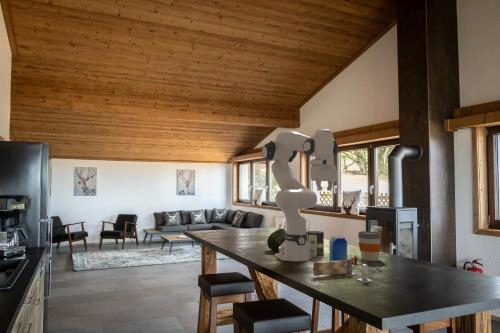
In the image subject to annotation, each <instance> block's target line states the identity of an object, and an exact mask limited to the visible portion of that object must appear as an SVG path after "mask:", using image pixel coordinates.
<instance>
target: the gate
mask: <svg viewBox="0 0 500 333" xmlns="http://www.w3.org/2000/svg"><path fill="white" fill-rule="evenodd" d="M312 263H313V264H312V267H313V268H312V269H313V270H312V271H313V272H312V275H313V276H315V277H318V276H327V275H328V276H329V275H337V274H341V273H348V274H351V273H352V272H353V265H352V258H347V259H346V260H340V261H330V260H329V261H328V260H327V261H313V262H312Z"/></svg>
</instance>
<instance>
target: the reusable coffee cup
mask: <svg viewBox="0 0 500 333" xmlns="http://www.w3.org/2000/svg"><path fill="white" fill-rule="evenodd" d="M357 237H358V248H359V251H360V257H361V258H360V259H361V260H368V261H367V262H370V261H376V262H379V256H380V251H381V246H382V243H381V239H382V233H381V232H379V231H373V230H372V231H371V230H369V231H368V230H367V231H365V230H362V231H358V235H357Z"/></svg>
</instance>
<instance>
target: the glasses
mask: <svg viewBox="0 0 500 333" xmlns="http://www.w3.org/2000/svg"><path fill="white" fill-rule="evenodd" d="M351 259H352V266H360V267H362V264H360V263H359V264H358V261H360V262H361V261H364V262H372V263H377V261H368V260H362V259H359V257H358V256H357V255H355V256H353V257H351ZM378 263H379V264H382V265H383V266H384V267H385V268H388V266H387V265H386V264H384V263H383V262H381V261H378ZM368 267H371V268H375V269H376V270H377V271H378V272H380V273H382V272H383V271H382V270H380V269H379V268H378V267H376V266H373V265H368Z"/></svg>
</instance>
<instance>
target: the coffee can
mask: <svg viewBox="0 0 500 333" xmlns="http://www.w3.org/2000/svg"><path fill="white" fill-rule="evenodd" d="M306 234H307V243H308V244H309V252H310V256H311V257H312V258H311V259H314V258H315V259H316V258H317V259H318V258H319V259H320V258H324V257H325V250H324V249H325V248H324V247H325V239H324V237H325V234H324V231H319V230H309V231H307V230H306Z"/></svg>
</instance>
